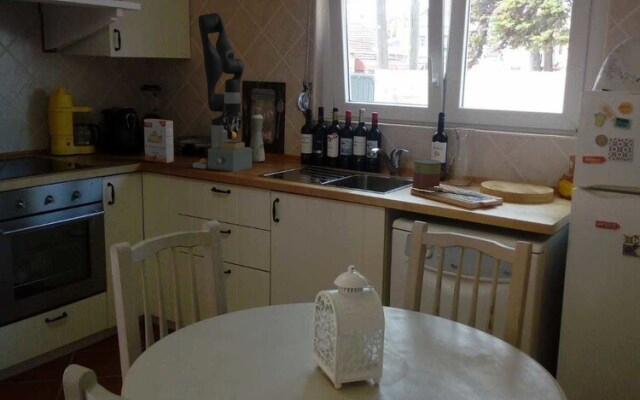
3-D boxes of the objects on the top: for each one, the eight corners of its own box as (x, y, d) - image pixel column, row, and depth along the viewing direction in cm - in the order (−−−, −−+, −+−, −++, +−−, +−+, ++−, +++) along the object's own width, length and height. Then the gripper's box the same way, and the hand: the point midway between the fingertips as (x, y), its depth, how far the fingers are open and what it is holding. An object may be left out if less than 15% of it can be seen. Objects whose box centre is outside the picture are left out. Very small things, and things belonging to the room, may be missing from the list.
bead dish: (201, 166, 319) (201, 161, 318) (213, 167, 316) (213, 162, 315) (192, 168, 313) (192, 163, 312) (205, 169, 310) (204, 164, 309)
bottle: (257, 163, 333) (257, 107, 328) (244, 161, 339) (244, 106, 333) (268, 161, 340) (269, 107, 334) (255, 159, 345) (256, 105, 340)
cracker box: (144, 160, 331) (143, 119, 327) (152, 159, 337) (151, 118, 332) (166, 163, 325) (165, 120, 321) (174, 162, 330) (173, 120, 326)
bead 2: (231, 139, 315) (231, 130, 314) (238, 139, 313) (238, 131, 312) (226, 139, 312) (226, 131, 311) (233, 140, 310) (233, 131, 309)
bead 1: (202, 166, 317) (202, 157, 316) (209, 166, 315) (209, 158, 314) (197, 167, 313) (197, 158, 312) (204, 167, 312) (204, 159, 311)
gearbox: (227, 165, 324) (227, 140, 321) (252, 168, 317) (252, 142, 315) (205, 170, 308) (205, 143, 305) (230, 173, 302) (230, 146, 299)
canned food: (436, 187, 282) (438, 159, 279) (441, 192, 271) (443, 163, 268) (410, 187, 281) (411, 159, 279) (414, 192, 270) (416, 163, 268)
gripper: (234, 101, 317) (234, 136, 320) (216, 102, 304) (217, 139, 308) (247, 102, 313) (247, 138, 317) (230, 103, 301) (230, 140, 304)
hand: (232, 138), depth 312 cm, fingers closed on bead 2, 4 cm apart
